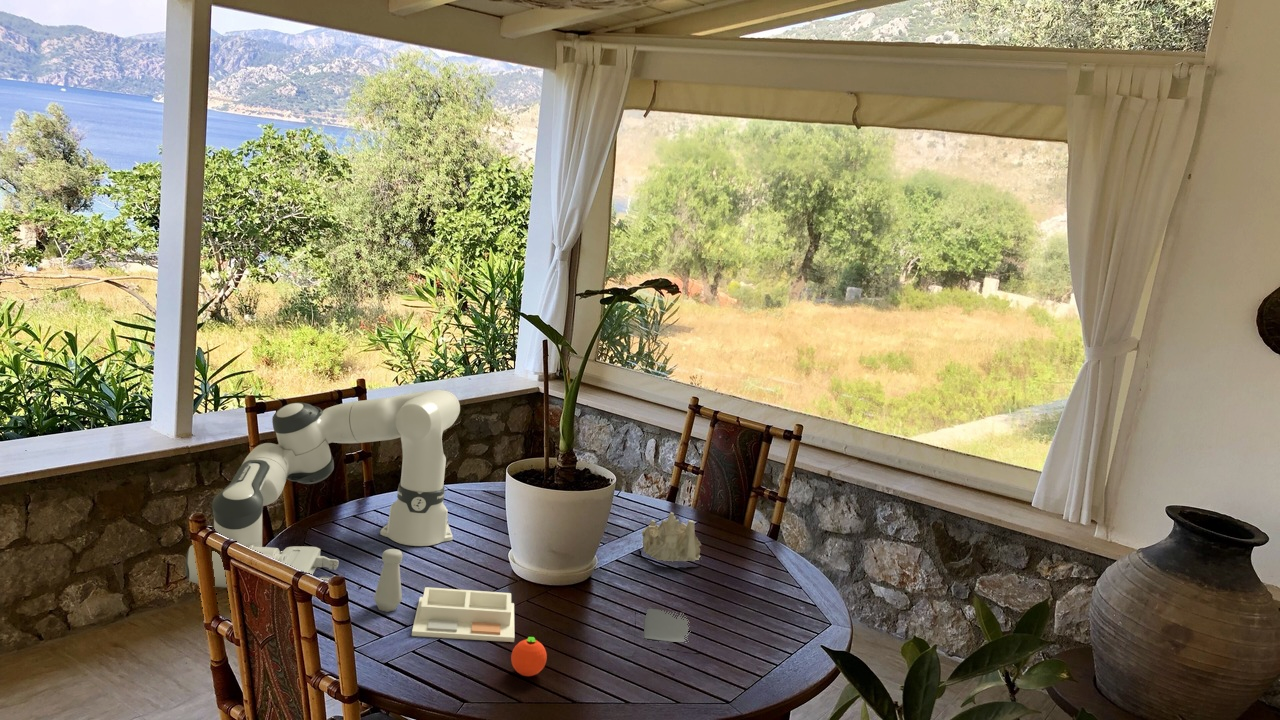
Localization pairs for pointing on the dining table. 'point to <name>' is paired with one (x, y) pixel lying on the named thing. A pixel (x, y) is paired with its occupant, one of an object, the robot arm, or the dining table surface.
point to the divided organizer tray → (465, 615)
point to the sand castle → (671, 540)
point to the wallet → (665, 626)
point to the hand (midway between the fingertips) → (333, 573)
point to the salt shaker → (389, 581)
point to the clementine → (529, 657)
